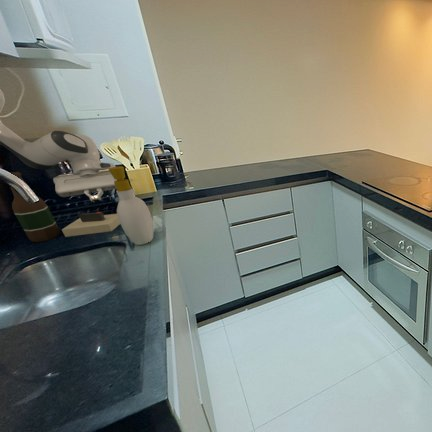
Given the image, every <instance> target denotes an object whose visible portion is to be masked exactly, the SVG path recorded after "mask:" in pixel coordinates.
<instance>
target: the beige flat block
mask: <svg viewBox="0 0 432 432" xmlns="http://www.w3.org/2000/svg"><path fill="white" fill-rule="evenodd" d="M103 215H104V217H105V220H103V221H92V222H82V221H81V219H80V217H79V218H78V219H76V220H74V221H73V222H71V223H70V224H68V225H66V226H64V228H62V229H61V231H62V233H63V235H64V237H65V238H69V237H76V236H85V235H93V234H101V233H108V232H113V231H114V230H115V229H116V228H117V227H119V226H121V224H120V221H119V219H118V215H117V213H111V214H103Z"/></svg>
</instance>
